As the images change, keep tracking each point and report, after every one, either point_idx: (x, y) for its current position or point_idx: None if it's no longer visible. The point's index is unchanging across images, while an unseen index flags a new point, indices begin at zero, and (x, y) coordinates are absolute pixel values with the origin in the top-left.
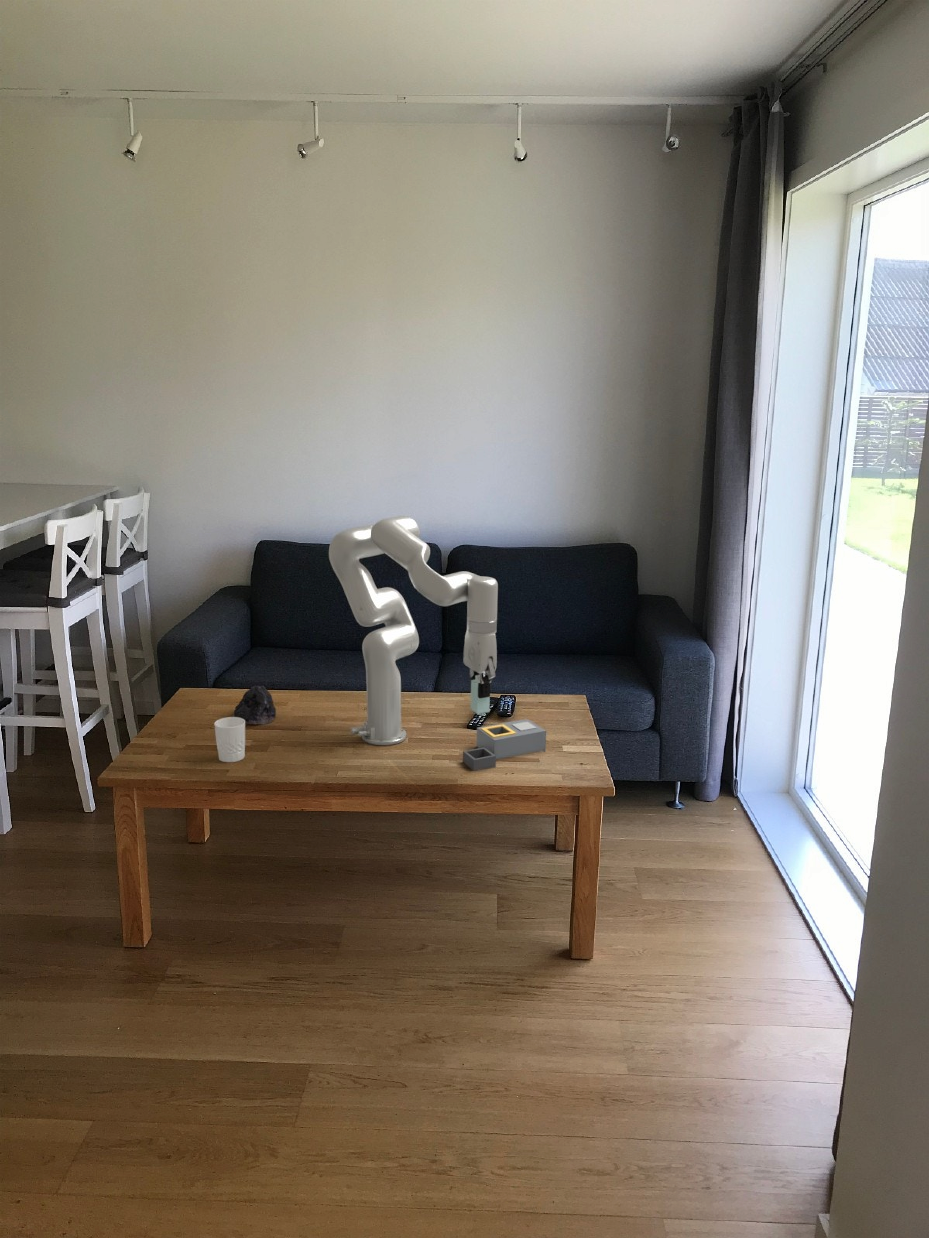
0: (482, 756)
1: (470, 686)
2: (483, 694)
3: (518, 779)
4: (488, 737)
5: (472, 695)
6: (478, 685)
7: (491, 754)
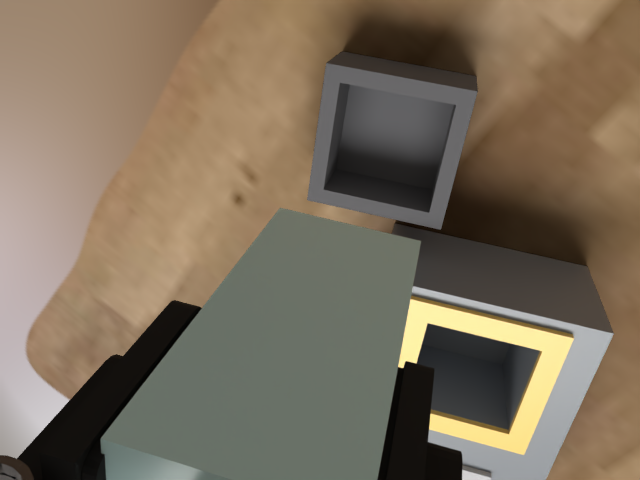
0: (432, 191)
1: (420, 427)
2: (114, 359)
3: (173, 175)
4: (454, 290)
5: (356, 325)
6: (93, 424)
7: (335, 193)
